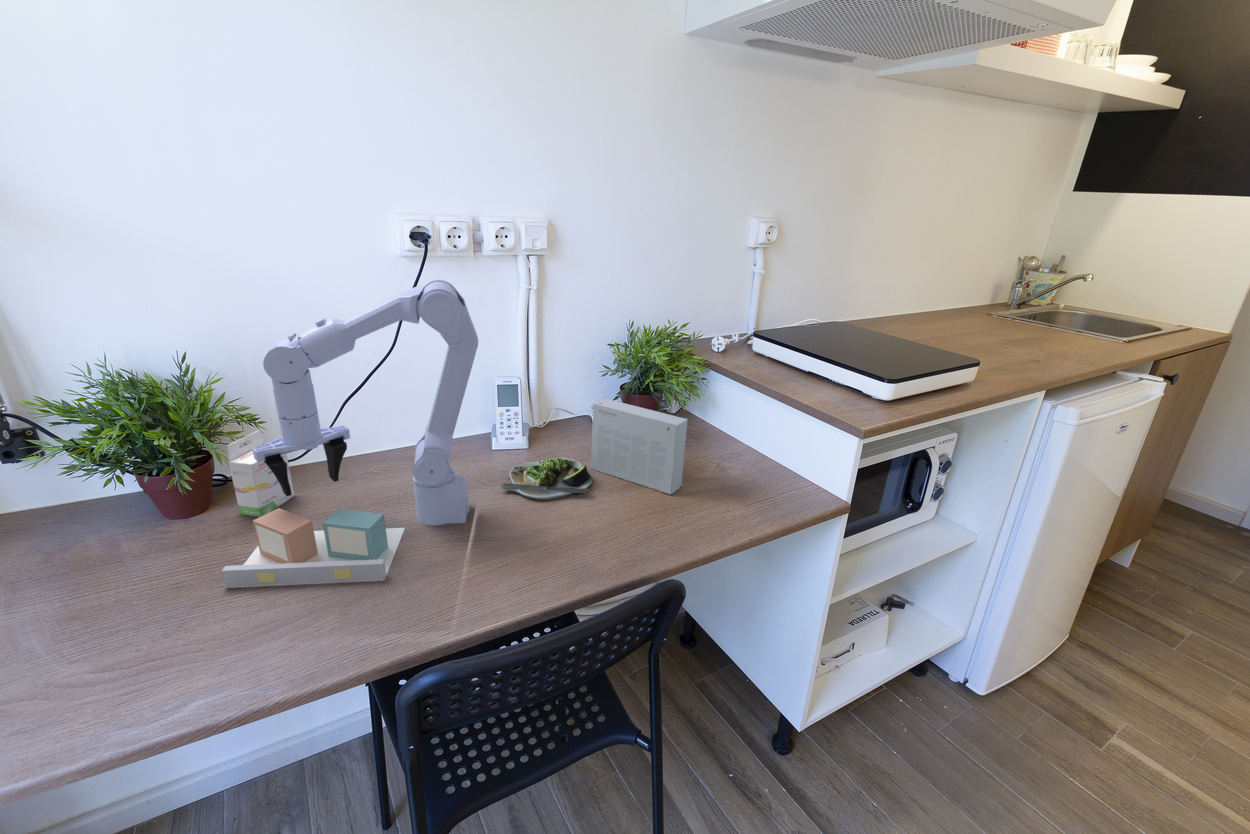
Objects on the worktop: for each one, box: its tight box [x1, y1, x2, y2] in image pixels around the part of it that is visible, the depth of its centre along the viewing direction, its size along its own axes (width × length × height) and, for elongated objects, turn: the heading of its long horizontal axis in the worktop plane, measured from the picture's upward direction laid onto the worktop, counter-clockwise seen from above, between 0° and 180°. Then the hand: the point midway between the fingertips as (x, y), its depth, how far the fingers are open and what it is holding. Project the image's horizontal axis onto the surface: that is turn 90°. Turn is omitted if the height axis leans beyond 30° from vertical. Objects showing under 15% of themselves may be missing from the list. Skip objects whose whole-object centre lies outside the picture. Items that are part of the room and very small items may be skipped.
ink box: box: [226, 429, 295, 518], centre depth 108 cm, size 9×5×15 cm, turn 168°
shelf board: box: [221, 527, 406, 589], centre depth 96 cm, size 23×15×4 cm, turn 98°
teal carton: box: [322, 508, 388, 560], centre depth 97 cm, size 5×8×6 cm, turn 82°
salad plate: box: [500, 457, 594, 501], centre depth 124 cm, size 19×18×5 cm
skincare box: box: [590, 398, 689, 495], centre depth 126 cm, size 21×5×16 cm, turn 58°
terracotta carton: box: [252, 507, 318, 564], centre depth 95 cm, size 5×8×6 cm, turn 64°
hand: (311, 486), depth 101 cm, fingers open, 7 cm apart
